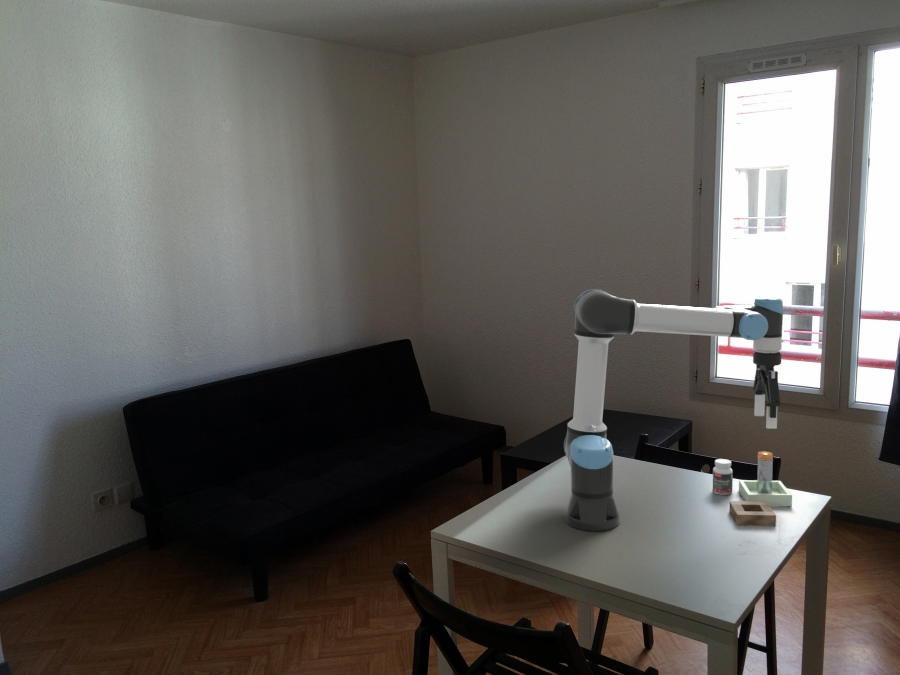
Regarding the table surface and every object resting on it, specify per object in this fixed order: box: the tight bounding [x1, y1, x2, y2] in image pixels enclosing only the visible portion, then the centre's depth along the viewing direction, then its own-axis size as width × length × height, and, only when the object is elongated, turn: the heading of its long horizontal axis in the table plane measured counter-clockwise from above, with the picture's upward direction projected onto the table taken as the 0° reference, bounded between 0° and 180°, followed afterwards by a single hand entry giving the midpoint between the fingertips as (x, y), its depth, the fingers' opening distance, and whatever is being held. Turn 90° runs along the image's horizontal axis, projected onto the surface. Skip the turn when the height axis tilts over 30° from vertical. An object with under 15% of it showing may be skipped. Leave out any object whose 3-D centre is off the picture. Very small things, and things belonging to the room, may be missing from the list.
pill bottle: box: [712, 458, 734, 496], centre depth 224 cm, size 6×6×10 cm
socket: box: [728, 500, 777, 527], centre depth 204 cm, size 10×10×3 cm
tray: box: [738, 479, 793, 508], centre depth 217 cm, size 12×12×4 cm
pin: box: [757, 451, 774, 494], centre depth 216 cm, size 4×4×13 cm
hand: (765, 421), depth 214 cm, fingers open, 13 cm apart
